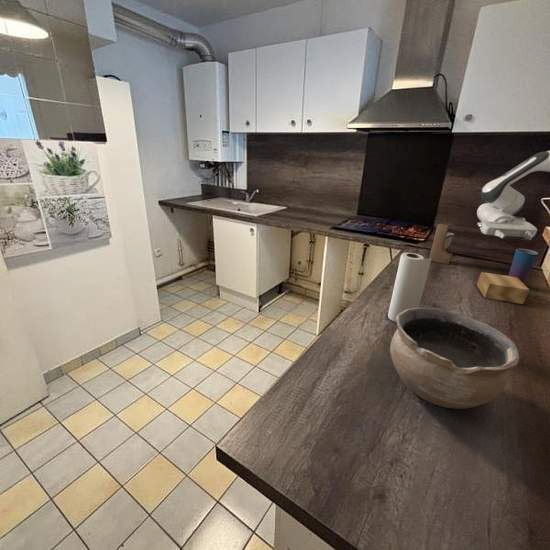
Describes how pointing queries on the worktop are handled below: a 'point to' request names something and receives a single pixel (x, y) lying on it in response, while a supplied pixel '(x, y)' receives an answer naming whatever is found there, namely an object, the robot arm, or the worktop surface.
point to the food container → (448, 241)
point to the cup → (522, 263)
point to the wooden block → (440, 246)
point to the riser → (502, 288)
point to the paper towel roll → (408, 283)
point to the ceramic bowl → (451, 357)
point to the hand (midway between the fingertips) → (517, 237)
